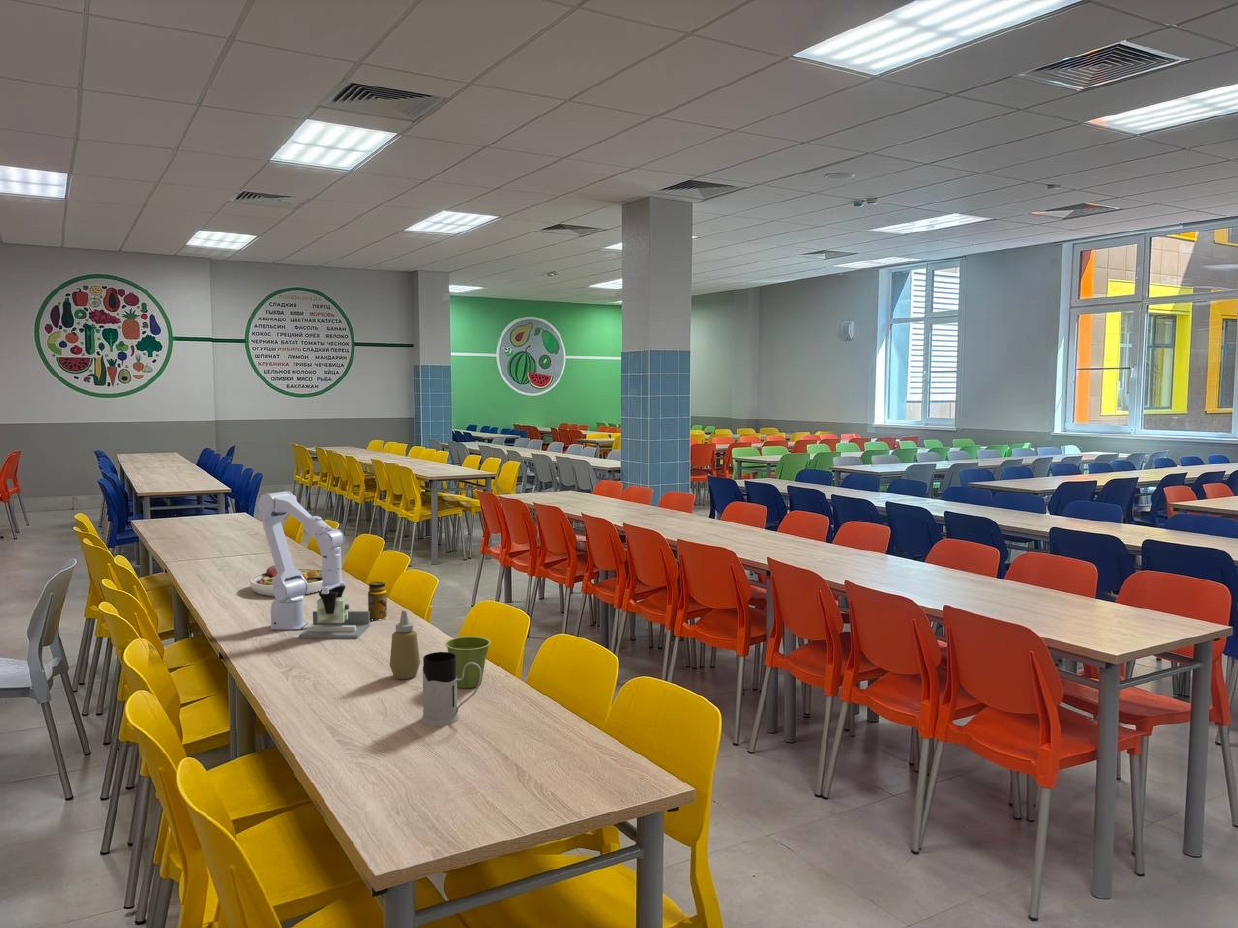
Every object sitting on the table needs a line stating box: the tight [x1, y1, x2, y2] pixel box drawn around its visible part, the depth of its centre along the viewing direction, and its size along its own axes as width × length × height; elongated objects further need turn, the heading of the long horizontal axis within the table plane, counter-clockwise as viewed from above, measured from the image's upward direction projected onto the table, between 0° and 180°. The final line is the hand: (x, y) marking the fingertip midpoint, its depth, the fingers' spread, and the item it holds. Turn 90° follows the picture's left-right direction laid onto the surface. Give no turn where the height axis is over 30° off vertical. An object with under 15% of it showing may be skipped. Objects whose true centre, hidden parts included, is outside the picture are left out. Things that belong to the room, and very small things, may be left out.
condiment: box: [367, 581, 391, 622], centre depth 290 cm, size 7×8×12 cm
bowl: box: [249, 565, 323, 597], centre depth 332 cm, size 30×30×8 cm
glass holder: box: [420, 651, 482, 727], centre depth 202 cm, size 9×14×15 cm, turn 88°
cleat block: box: [316, 596, 350, 623], centre depth 271 cm, size 9×5×7 cm, turn 91°
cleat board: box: [298, 610, 371, 640], centre depth 274 cm, size 18×14×5 cm
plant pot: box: [444, 635, 492, 689], centre depth 226 cm, size 12×12×11 cm
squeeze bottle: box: [389, 610, 421, 680], centre depth 232 cm, size 8×8×18 cm
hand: (332, 611), depth 271 cm, fingers closed on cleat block, 5 cm apart
